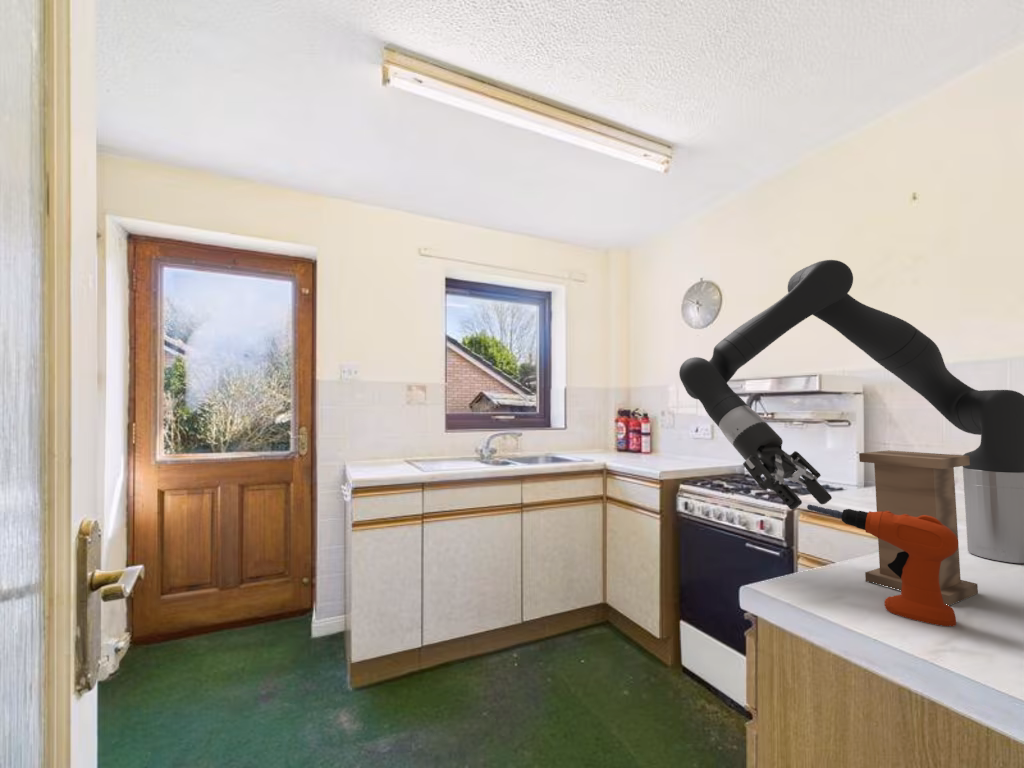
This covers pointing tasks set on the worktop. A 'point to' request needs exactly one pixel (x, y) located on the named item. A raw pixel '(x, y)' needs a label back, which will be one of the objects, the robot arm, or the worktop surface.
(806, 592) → the worktop surface
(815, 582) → the worktop surface
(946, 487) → the walnut stand
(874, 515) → the toy drill
